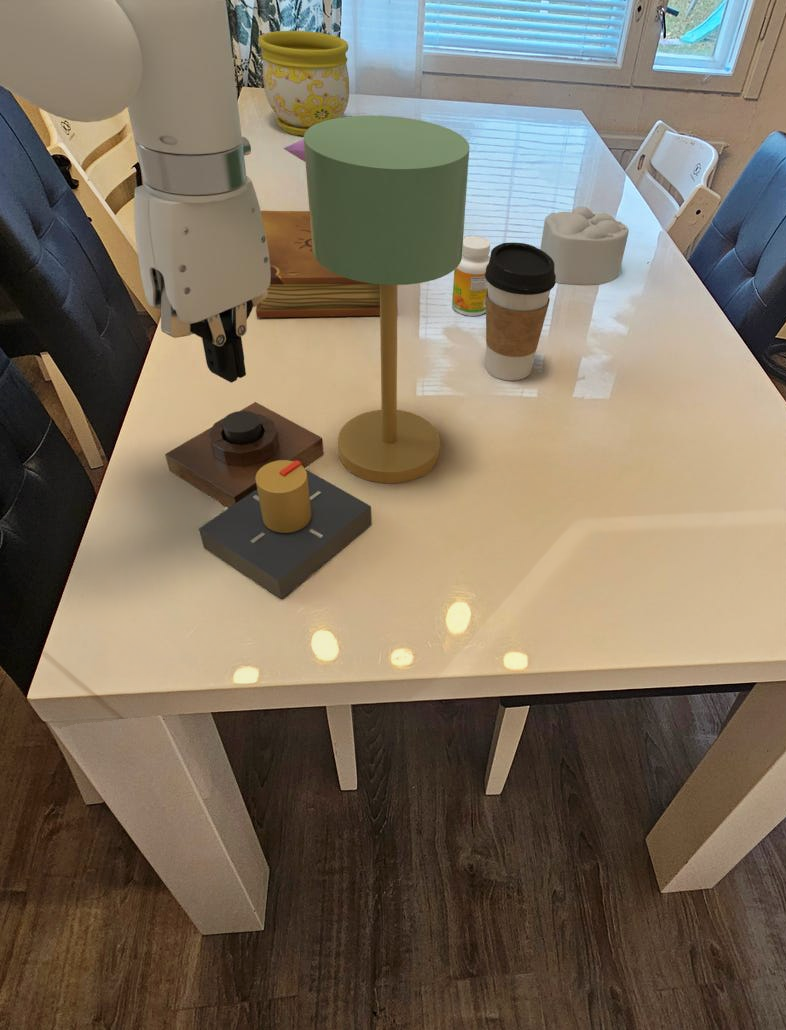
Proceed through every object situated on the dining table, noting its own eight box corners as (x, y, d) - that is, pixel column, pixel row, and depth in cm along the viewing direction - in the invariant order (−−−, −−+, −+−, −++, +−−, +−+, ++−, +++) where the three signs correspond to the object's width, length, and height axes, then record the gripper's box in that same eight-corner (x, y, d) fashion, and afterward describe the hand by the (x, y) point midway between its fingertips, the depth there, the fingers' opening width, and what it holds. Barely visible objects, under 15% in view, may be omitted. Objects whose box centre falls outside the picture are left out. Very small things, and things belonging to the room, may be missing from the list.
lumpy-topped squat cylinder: (535, 255, 117) (542, 202, 111) (609, 256, 120) (620, 204, 114) (548, 284, 110) (557, 229, 104) (627, 285, 112) (640, 231, 106)
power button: (242, 450, 70) (239, 436, 69) (217, 436, 71) (214, 422, 70) (269, 433, 72) (267, 420, 71) (244, 420, 73) (242, 406, 72)
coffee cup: (517, 345, 96) (531, 236, 85) (553, 377, 91) (573, 265, 81) (464, 359, 92) (473, 247, 82) (499, 392, 87) (513, 278, 77)
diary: (395, 316, 99) (395, 277, 95) (257, 318, 95) (251, 278, 91) (380, 246, 115) (379, 210, 111) (261, 246, 111) (256, 209, 107)
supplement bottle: (446, 300, 103) (450, 235, 97) (481, 297, 105) (487, 232, 98) (458, 318, 100) (463, 251, 93) (493, 315, 102) (501, 249, 95)
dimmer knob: (287, 540, 63) (280, 497, 59) (252, 518, 65) (244, 475, 61) (321, 514, 66) (317, 471, 62) (287, 493, 67) (281, 450, 64)
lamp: (398, 507, 71) (400, 182, 49) (303, 454, 76) (267, 135, 54) (471, 446, 79) (500, 143, 57) (381, 401, 84) (377, 106, 62)
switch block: (237, 513, 69) (231, 482, 66) (169, 470, 72) (160, 439, 69) (323, 453, 76) (321, 424, 73) (258, 417, 80) (253, 388, 77)
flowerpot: (368, 131, 157) (366, 45, 146) (306, 146, 146) (298, 54, 135) (313, 111, 164) (307, 27, 153) (250, 124, 154) (239, 35, 142)
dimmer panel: (281, 599, 62) (278, 579, 60) (203, 547, 65) (197, 527, 63) (371, 524, 69) (371, 504, 67) (297, 481, 73) (294, 461, 71)
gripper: (235, 135, 59) (259, 331, 72) (71, 173, 50) (132, 391, 62) (300, 159, 57) (314, 358, 69) (141, 203, 47) (189, 425, 60)
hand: (227, 373), depth 66 cm, fingers closed
